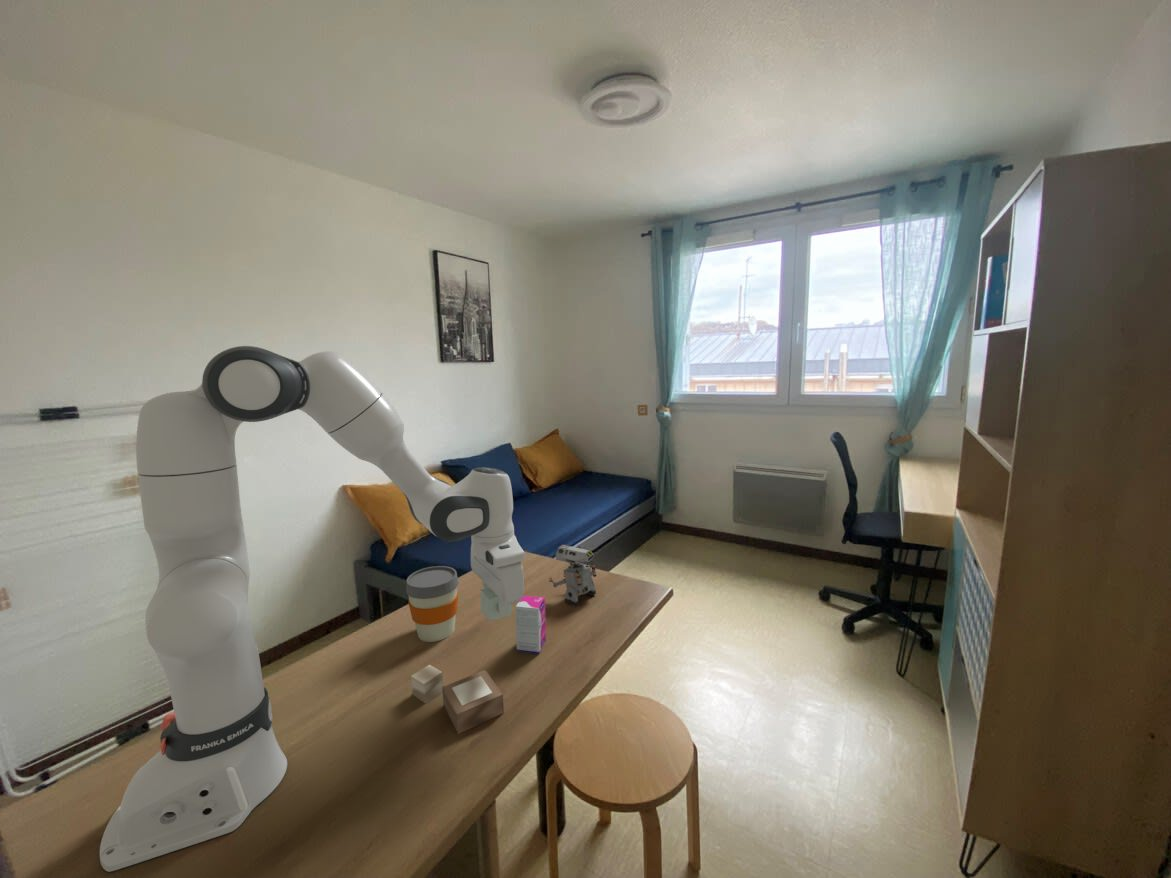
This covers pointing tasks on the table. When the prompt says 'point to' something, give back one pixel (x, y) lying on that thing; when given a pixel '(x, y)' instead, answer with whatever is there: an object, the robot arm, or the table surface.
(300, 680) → the table surface
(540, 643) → the supplement box
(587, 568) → the figurine
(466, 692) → the walnut base
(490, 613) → the sage block
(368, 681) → the table surface
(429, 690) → the block
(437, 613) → the reusable coffee cup
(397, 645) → the table surface
